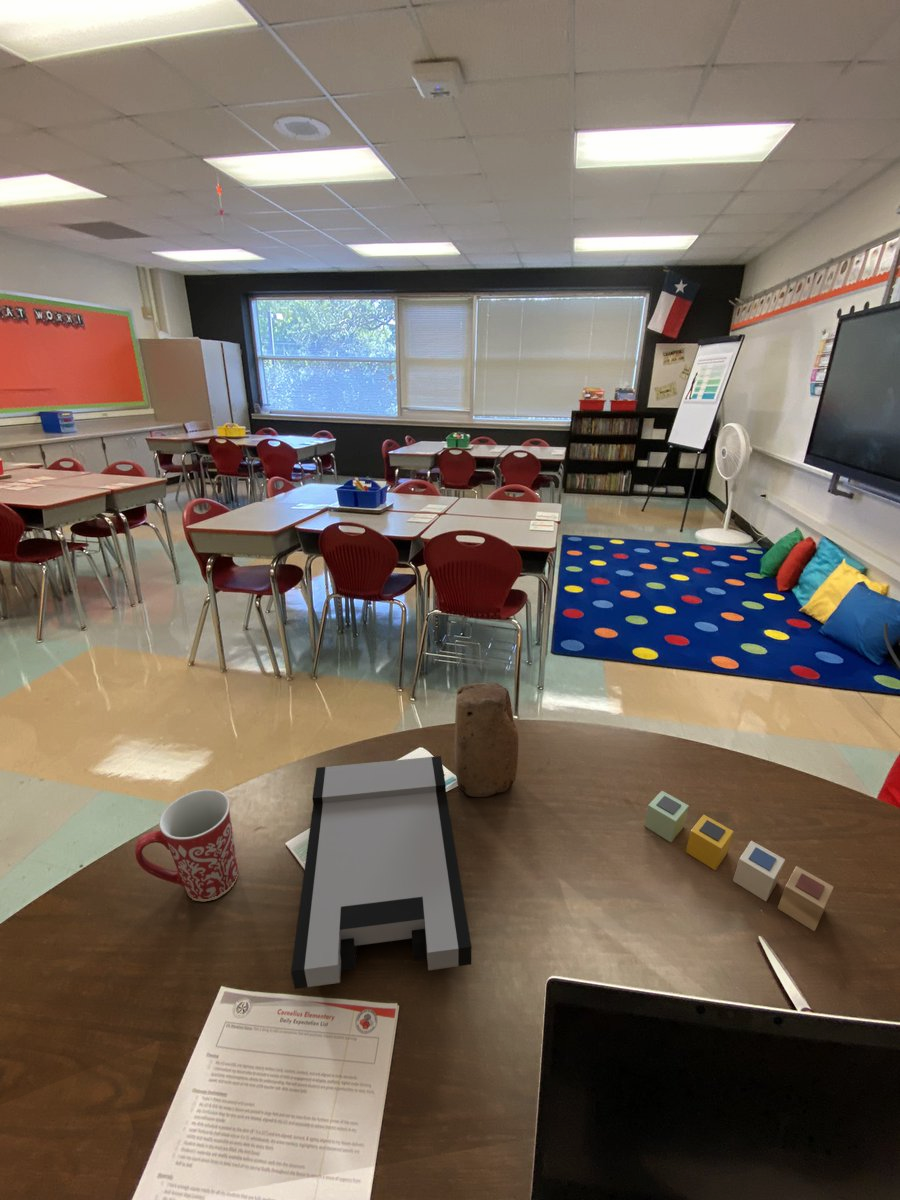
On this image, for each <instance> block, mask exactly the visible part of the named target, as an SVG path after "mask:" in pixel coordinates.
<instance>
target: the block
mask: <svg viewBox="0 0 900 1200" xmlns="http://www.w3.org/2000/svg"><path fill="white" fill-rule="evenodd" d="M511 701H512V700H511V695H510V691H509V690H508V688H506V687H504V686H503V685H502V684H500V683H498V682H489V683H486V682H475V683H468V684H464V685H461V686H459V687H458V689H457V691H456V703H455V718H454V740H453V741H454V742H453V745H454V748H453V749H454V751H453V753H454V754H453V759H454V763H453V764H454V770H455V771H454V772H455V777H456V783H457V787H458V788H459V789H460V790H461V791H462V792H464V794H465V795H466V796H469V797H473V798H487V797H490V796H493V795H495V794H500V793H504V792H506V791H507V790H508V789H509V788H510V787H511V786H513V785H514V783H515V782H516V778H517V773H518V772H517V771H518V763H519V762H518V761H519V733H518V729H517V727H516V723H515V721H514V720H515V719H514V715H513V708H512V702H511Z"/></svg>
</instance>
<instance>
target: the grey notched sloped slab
mask: <svg viewBox="0 0 900 1200" xmlns="http://www.w3.org/2000/svg"><path fill="white" fill-rule="evenodd" d="M446 785H447V784H446V779H445V774H444V767H443V761H442V756H441V755H437V756H426V757H415V758H404V759H394V760H383V761H374V762H362V763H350V764H342V765H331V766H320V767H319V766H318V767H315V776H314V783H313V792H312V796H311V797H312V811H311V819H310V825H309V831H308V832H309V833H308V841H307V848H306V856H305V862H304V870H303V878H302V884H301V893H300V900H299V908H298V915H297V921H296V922H297V924H296V931H295V937H294V945H293V953H292V960H291V968H290V973H291V979H292V983H293V987H294V990H297V989H298V990H299V989H305V988H311V987H319V986H326V985H327V986H328V985H333V984H334V985H335V984H340V983H341V975H342V974H341V972H342V971H343V972H344V971H351V970H356V967H357V965H356V964H357V958H356V955H357V956H358V949H357V945H358V946H363V945H371V944H379V943H387V942H393V941H401V940H410V939H411V943H412V944H411V945H412V958H413V959H412V960H413V962H417V961H425V960H427V961H426V962H427V971H435V970H441V969H442V970H443V969H448V968H455V967H462V966H463V967H464V966H470V965H472V949H473V948H472V942H471V935H470V928H469V924H468V923H469V922H468V917H467V911H466V904H465V899H464V893H463V886H462V881H461V875H460V868H459V863H458V857H457V851H456V845H455V844H456V843H455V838H454V833H453V826H452V821H451V814H450V808H449V802H448V801H449V800H448V797H447V789H446V788H447V786H446Z"/></svg>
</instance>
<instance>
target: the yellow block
mask: <svg viewBox="0 0 900 1200" xmlns="http://www.w3.org/2000/svg"><path fill="white" fill-rule="evenodd" d="M734 832H735V831H734V830H732V829H730V828H728V827H727V826H726V825H723V824H722V823H720V822H719V821H716V820H715V819H713V818H711V817H710V816H707V815H705V814H703V815H702V816H701V817H700V818H699V819H698V821H697V822H696V823H695V825H694V826H693V827H692V828H691V830H690V832H689V836H688V840H687V844H686V849H685V853H687V854H688V855H690V856H691V857H692V858H694V859H696V860H697V861H699V862H700V863H702V864H704V865H705V866H707V867H709V868H711V869H712V870H713V871H716V870H718V867H719V866H720V864H721V863H722V862H723V860H724V859H725V858H726V856H727V854H728V853H729V849H730V845H731V843H732V839H733V835H734Z"/></svg>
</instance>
